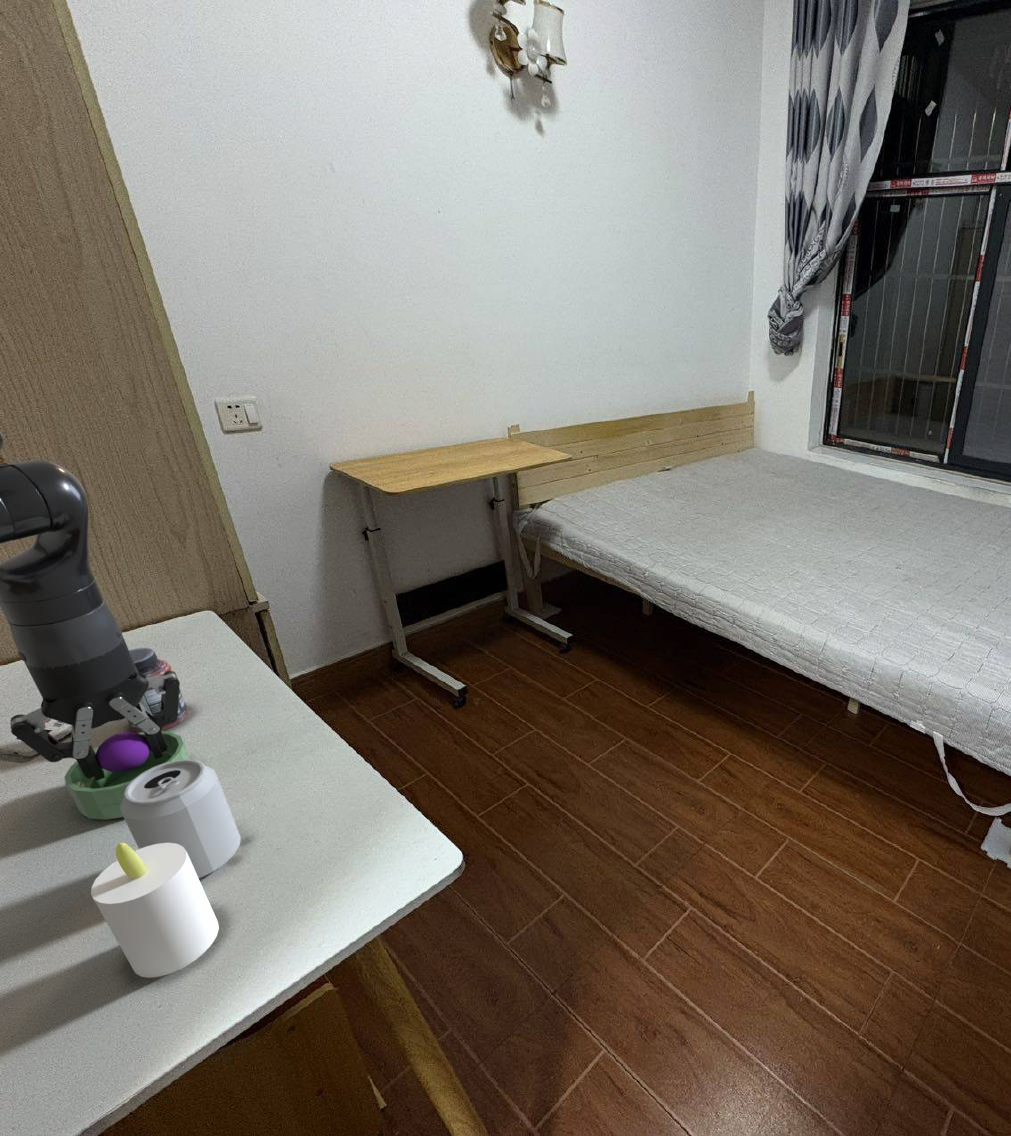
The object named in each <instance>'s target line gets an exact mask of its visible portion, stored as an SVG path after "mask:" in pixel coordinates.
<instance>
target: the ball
mask: <svg viewBox="0 0 1011 1136" xmlns="http://www.w3.org/2000/svg"><path fill="white" fill-rule="evenodd" d="M97 748H98V749H97V752H96V759H97V762H98V764H99V766H100V767H102V768H103V769H105V770H107V771H110V772H125V771H129V770H132V769H134V768H137V767H138V766H140V765H141V764H142V763H144V762H145V761H146V759H147V758H148V757H149V755H150V752H151V748H150V746H149V743H148V741H147V739H146V737H145V736H143V735H141V734H138V733H136V732H135V731H133V732H132V731H126V732H124V731H123V732H120V733H117V734H114V735H111V736H109V737H107V738H106V739H105V740H103V741H102V742H101V743H100V745H99V746H98V747H97Z"/></svg>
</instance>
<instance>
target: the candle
mask: <svg viewBox="0 0 1011 1136" xmlns="http://www.w3.org/2000/svg"><path fill="white" fill-rule="evenodd" d="M115 856H116V861H114V862H112V863H111V864H110V865H109V866H107V867H106V868H105V869H104V870H103V871H102V872H101V873H100V874H99V875H98V876H97V877H96V878H95V880H94V882H93V883H92V885H91V889H90V895H91V897H92V899H93V901H94V902H95V904H96V906H97V908H98V909H99V912H100V913H101V915H102V916H103V918H104V920H105V922H106V923H107V925H108V927H109V928H110V931H111V932H112V935H113V937H114V938H115V940H116V941H117V943H118V945H119V947H120V949H121V950H122V952H123V954H124V956H125V958H126V959H127V961H128V963H129V964H130V966H131V968H132V970H133V972H134V973H135V975H137V976H139V977H141V978H147V979H153V978H161V977H164V976H168V975H171V974H173V973H176V972H177V971H179V970H181V969H184V968H185V967H187V966H188V965H190V964H191V963H193V962H195V961H197V959H199V957H201V956H202V955H204V953H205V952H206V951H207V950H208V949H210V947H211V946H212V945H213V943H214V941H215V940H216V939H217V936H218V933H219V930H220V927H219V922H218V919H217V917H216V914H215V912H214V910H213V908H212V906H211V903H210V901H209V898H208V897H207V893H206V892H205V890H204V887H203V885H202V882H201V881H200V878H198V876H197V874H196V872H195V869H194V867H193V865H192V863H191V860H190V858H189V856H188V854H187V851H186V850H185V849H184V847H183V846H181V845H179V844H176V843H159V844H154V845H150V846H146V847H144V848H141V849H139V848H138V849H136V850H134V849H132V847H130V845H128V844H127V843H124V842H119V843H118V844H117V845H116V848H115Z"/></svg>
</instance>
